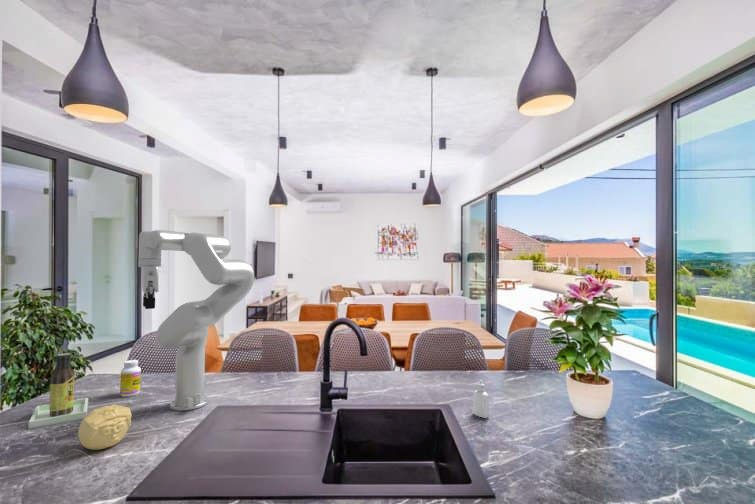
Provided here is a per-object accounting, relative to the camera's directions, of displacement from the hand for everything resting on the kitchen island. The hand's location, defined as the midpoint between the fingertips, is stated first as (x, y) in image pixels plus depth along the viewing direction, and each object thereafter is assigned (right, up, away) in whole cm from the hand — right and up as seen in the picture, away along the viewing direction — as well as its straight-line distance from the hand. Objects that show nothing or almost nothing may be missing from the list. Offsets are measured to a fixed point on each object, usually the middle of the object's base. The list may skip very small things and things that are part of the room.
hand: (148, 307), depth 145 cm
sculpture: (+11, -33, -39) cm, 52 cm away
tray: (-18, -34, -19) cm, 43 cm away
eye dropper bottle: (+124, -35, -18) cm, 130 cm away
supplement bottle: (-8, -35, +2) cm, 36 cm away
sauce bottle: (-18, -33, -19) cm, 42 cm away
